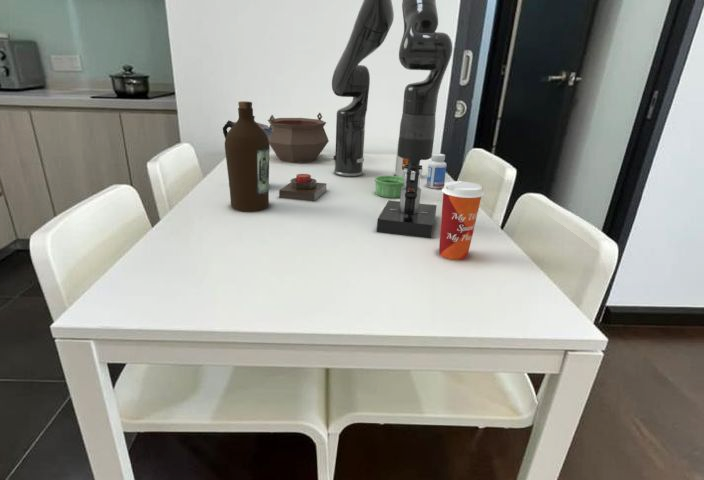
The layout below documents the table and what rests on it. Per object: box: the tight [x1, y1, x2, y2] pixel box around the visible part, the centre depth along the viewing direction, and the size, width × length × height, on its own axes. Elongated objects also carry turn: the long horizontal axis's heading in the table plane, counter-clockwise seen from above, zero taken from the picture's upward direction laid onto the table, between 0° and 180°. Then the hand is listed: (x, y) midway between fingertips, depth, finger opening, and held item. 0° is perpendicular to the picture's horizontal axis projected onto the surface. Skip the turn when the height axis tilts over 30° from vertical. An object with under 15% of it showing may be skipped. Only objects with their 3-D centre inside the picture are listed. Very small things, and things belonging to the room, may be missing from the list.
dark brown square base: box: [278, 177, 327, 202], centre depth 129 cm, size 12×10×4 cm
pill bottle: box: [425, 153, 447, 190], centre depth 141 cm, size 6×5×10 cm
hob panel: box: [376, 199, 438, 239], centre depth 109 cm, size 16×12×3 cm
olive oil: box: [224, 100, 271, 212], centre depth 113 cm, size 11×11×25 cm
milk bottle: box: [394, 139, 421, 178], centre depth 150 cm, size 8×8×20 cm
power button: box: [295, 173, 312, 182], centre depth 128 cm, size 4×4×2 cm
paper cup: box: [438, 180, 485, 261], centre depth 90 cm, size 8×8×14 cm
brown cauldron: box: [267, 112, 330, 164], centre depth 172 cm, size 24×24×16 cm
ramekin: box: [374, 175, 405, 199], centre depth 132 cm, size 9×9×4 cm
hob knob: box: [399, 186, 422, 214], centre depth 107 cm, size 4×4×6 cm
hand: (409, 209), depth 108 cm, fingers open, 6 cm apart
